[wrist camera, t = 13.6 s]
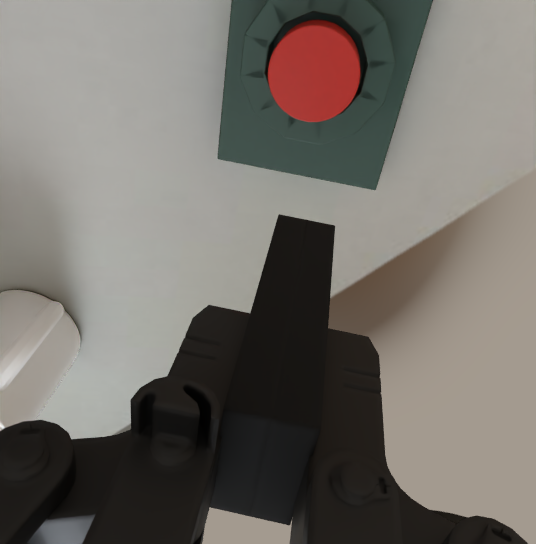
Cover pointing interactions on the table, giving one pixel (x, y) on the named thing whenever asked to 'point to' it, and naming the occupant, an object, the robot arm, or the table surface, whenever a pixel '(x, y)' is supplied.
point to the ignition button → (314, 71)
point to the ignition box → (343, 127)
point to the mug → (32, 353)
